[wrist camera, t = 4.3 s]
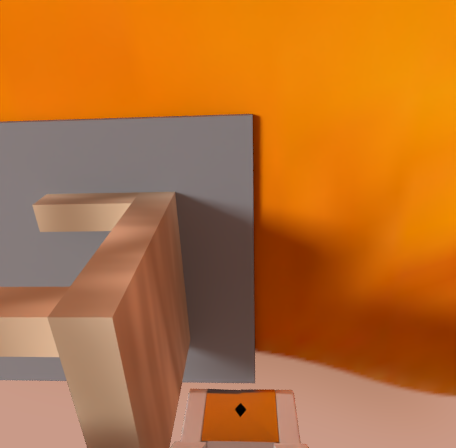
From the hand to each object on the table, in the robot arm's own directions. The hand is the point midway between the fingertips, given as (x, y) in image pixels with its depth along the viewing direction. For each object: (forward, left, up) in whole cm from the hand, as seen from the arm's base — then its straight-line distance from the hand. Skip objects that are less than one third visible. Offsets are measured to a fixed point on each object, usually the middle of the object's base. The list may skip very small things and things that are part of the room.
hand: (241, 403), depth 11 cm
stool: (+6, 0, -7) cm, 9 cm away
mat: (+9, 0, -7) cm, 12 cm away
